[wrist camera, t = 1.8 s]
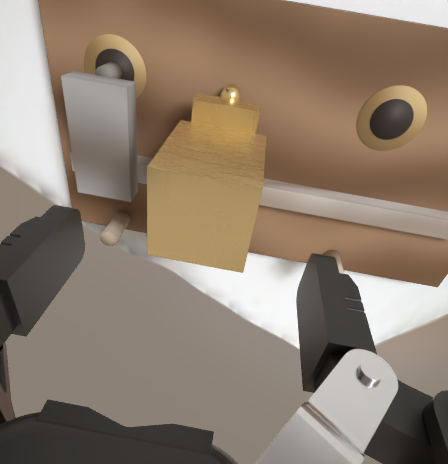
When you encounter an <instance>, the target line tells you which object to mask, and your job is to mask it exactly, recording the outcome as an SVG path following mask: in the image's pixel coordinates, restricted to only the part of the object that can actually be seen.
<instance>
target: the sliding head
mask: <svg viewBox="0 0 448 464" xmlns="http://www.w3.org/2000/svg"><path fill="white" fill-rule="evenodd" d="M240 95H241V92H240V89H239V87H238V86H237V85H235V84H228V85H226V86H225V87H224V89H223V91H222V93H221V95H220V97H219V96H213V95H208V94H202V93H198V94H197V95H196V96H195V98H194V99H193V107H192V120H191V122H189V121H183V120H180V122H179V123H178V124H177V126H176V127H175V129H174V130H173V131H172V133H171V134H170V136H169V137H168V138H167V140H166V141H165V143H164V144H163V145H162V147H161V148H160V149H159V151H158V152H157V154H156V155H155V156H154V158H153V159H152V161H151V162H150V163H149V165H148V166H147V255H151V256H156V257H162V258H167V259H172V260H178V261H183V262H188V263H194V264H199V265H204V266H210V267H215V268H220V269H225V270H231V271H236V272H241V273H243V271H244V266H245V262H246V258H247V254H248V249H249V245H250V241H251V237H252V232H253V228H254V224H255V220H256V215H257V211H258V207H259V203H260V198H261V194H262V190H263V180H264V165H265V149H266V135H261V134H256V129H257V124H258V119H259V114H260V108H261V104H258V103H253V102H247V101H241V100H239V99H240Z"/></svg>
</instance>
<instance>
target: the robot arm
mask: <svg viewBox="0 0 448 464" xmlns="http://www.w3.org/2000/svg"><path fill="white" fill-rule="evenodd" d="M84 250H85V242H84V235H83V228H82V220H81V214H80V211H79V210H78V209H74V208H69V207H63V206H58V205H54V206H52V207H51V208H50V209H49V210H48V211H47V212H46V213H45V214H44V215H43V216H42V217H34V218H32V219H30V220H28V221H26V222H24V223H22V224H21V225H19V226H18V227H17V228H16V229H15V230H14V231H13V232H12V233H11V234H10V236H7V237H6V238H5V239H4V240H3V241H2V242H1V244H0V464H238V463H237V462H236V461H235V460H234V459H233V458H232V457H231V456H230V455H228V454H227V453H226V452H224V451H223V450H222V449H220V448H218V447H217V446H215V445H213V444H212V440H213V433H214V432H213V431H208V430H202V429H197V428H192V427H187V426H182V425H177V424H164V425H151V426H140V427H125V426H122V425H120V424H118V423H117V422H115V421H113V420H111V419H109V418H107V417H105V416H103V415H102V414H100V413H98V412H96V411H94V410H92V409H90V408H89V407H84V406H78V405H74V404H68V403H63V402H58V401H52V400H47V402H46V404H45V405H44V407H43V409H42V411H41V412H40V413H39V412H38V413H33V414H28V415H24V416H21V417H17V418H16V417H15V413H14V409H13V405H12V400H11V392H10V380H9V371H8V360H7V348H6V344H5V341H6V340H7V338H8V337H9V336H10V334H16V335H21V336H27V335H28V334H29V332H30V331H31V329H32V328H33V327H34V325H35V324H36V322H37V321H38V320H39V318H40V317H41V315H42V314H43V313H44V311H45V310H46V309H47V307H48V306H49V304H50V303H51V301H52V300H53V299H54V298H55V296H56V295H57V293H58V292H59V291H60V289H61V288H62V286H63V285H64V284H65V282H66V281H67V280H68V278H69V277H70V275H71V274H72V272H73V271H74V270H75V268H76V267H77V266H78V264H79V263H80V261H81V260H82V257H83V255H84ZM296 302H297V316H298V330H299V343H300V357H301V369H302V384H303V391H308V392H313V393H314V394H313V396H312V397H311V398H310V399H309V401H308V402H307V403H304V404H302V406H301V407H300V408H299V409H298V410H297V412H296V413H295V414H294V415H293V416H292V418H291V419H290V420H289V421H288V423H287V424H286V425H285V426H284V428H283V429H282V430H281V431H280V433H279V434H278V435H277V436H276V438H275V439H274V440H273V441H272V443H271V444H270V445H269V446H268V447H267V449H266V450H265V451H264V452H263V454H262V455H261V456H260V457H259V459H258V460H257V461H256V462H255V464H362V462H363V460H364V455H363V453H364V454H366V455H368V456H370V457H371V458H373V459H375V460H377V461H379V462H381V463H382V464H448V391H441V392H440V393H438V394H437V395H436V396H435V397H434V398H433V397H431V396H429V395H426V394H424V393H422V392H420V391H418V390H416V389H414V388H412V387H410V386H408V385H406V384H404V383H402V382H401V381H399V380H398V379H397V377H396V375H395V373H394V371H393V369H392V368H391V367H390V366H389V365H388V363H387V362H386V361H385V360H384V359H382V358H381V357H380V356H378V355H377V353H376V349H375V346H374V342H373V339H372V335H371V332H370V328H369V325H368V321H367V318H366V314H365V313H364V307H363V304H362V302H361V297H360V293H359V290H358V287H357V285H356V284H355V283H354V282H353V280H352V279H351V278H350V276H349V275H347V274H342V273H339V269H338V265H337V261H336V258H335V257H332V256H327V255H321V254H316V253H312V254H311V255H310V257H309V260H308V262H307V265H306V268H305V270H304V273H303V276H302V278H301V281H300V284H299V287H298V291H297V301H296Z"/></svg>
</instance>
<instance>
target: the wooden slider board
mask: <svg viewBox="0 0 448 464" xmlns="http://www.w3.org/2000/svg"><path fill="white" fill-rule="evenodd" d="M38 1H39V7H40V14H41V20H42V26H43V32H44V38H45V44H46V50H47V57H48V63H49V69H50V75H51V81H52V87H53V93H54V100H55V106H56V112H57V118H58V124H59V130H60V136H61V142H62V149H63V155H64V161H65V167H66V173H67V179H68V185H69V192H70V198H71V204H72V208H74V209H78V210H79V211H80V214H81V220H82V221H85V222H91V223H96V224H101V225H107V227H106V228H105V230H104V231H103V233H102V234H101V235H100V239H101V241H102V242H103V243H104V244H105V245H108V246H113V245H115V244H116V242H117V241H118V239H119V237H120V236H121V234H122V233H123V231H124V229H128V230H134V231H139V232H144V233H147V166H148V165H149V163H150V162H151V161H152V159H153V158H154V156H155V155H156V154H157V152H158V151H159V149H160V148H161V147H162V145H163V144H164V143H165V141H166V140H167V138H168V137H169V136H170V134H171V133H172V131H173V130H174V129H175V127H176V126H177V124H178V123H179V122H180V120H183V121H189V122H191V120H192V107H193V99H194V98H195V96H196V95H197V94H198V93H202V94H208V95H213V96H219V97H220V95H221V93H222V91H223V89H224V87H225V86H226V85H228V84H235V85H237V86H238V87H239V89H240V92H241V95H240V99H239V100H241V101H247V102H253V103H258V104H261V108H260V114H259V119H258V124H257V129H256V134H261V135H266V149H265V165H264V180H263V190H262V194H261V198H260V203H259V207H258V211H257V215H256V220H255V224H254V228H253V232H252V237H251V241H250V245H249V249H248V252H251V253H257V254H262V255H267V256H273V257H278V258H283V259H289V260H294V261H299V262H305V263H307V262H308V260H309V257H310V255H311V254H312V253H316V254H321V255H327V256H332V257H335V258H336V261H337V265H338V269H339V273H342V274H344V271H343V270H348V271H353V272H358V273H364V274H369V275H374V276H380V277H385V278H390V279H396V280H401V281H406V282H412V283H417V284H422V285H428V286H433V287H438V286H439V285H440V283H441V282H442V281H443V279H444V278H445V277H446V275H447V274H448V28H444V27H438V26H432V25H426V24H421V23H415V22H409V21H403V20H397V19H391V18H386V17H380V16H374V15H368V14H362V13H356V12H351V11H345V10H339V9H333V8H327V7H321V6H316V5H310V4H304V3H298V2H292V1H286V0H38Z"/></svg>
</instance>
